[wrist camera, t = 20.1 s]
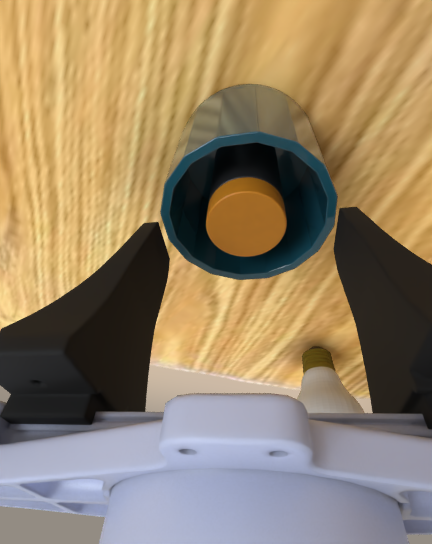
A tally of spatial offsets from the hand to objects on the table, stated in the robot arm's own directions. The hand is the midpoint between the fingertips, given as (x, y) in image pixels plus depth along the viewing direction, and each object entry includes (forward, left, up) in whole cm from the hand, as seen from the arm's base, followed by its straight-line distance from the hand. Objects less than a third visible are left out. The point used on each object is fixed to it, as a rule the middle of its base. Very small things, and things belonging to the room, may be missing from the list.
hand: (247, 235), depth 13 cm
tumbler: (0, 0, -7) cm, 7 cm away
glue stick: (0, 0, -7) cm, 7 cm away
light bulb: (-12, +17, -7) cm, 22 cm away
